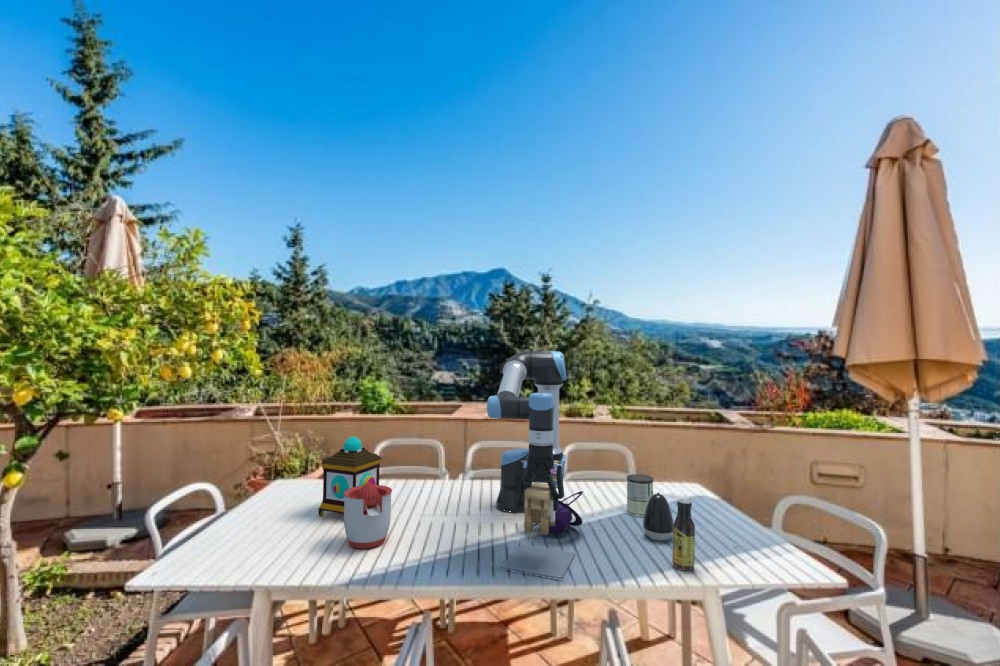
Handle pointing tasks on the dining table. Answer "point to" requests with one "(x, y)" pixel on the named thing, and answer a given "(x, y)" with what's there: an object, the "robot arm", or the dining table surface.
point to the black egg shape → (658, 518)
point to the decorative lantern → (347, 474)
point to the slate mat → (540, 561)
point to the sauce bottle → (683, 537)
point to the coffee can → (638, 493)
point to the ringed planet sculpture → (563, 512)
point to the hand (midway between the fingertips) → (540, 519)
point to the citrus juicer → (367, 515)
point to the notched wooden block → (537, 507)
